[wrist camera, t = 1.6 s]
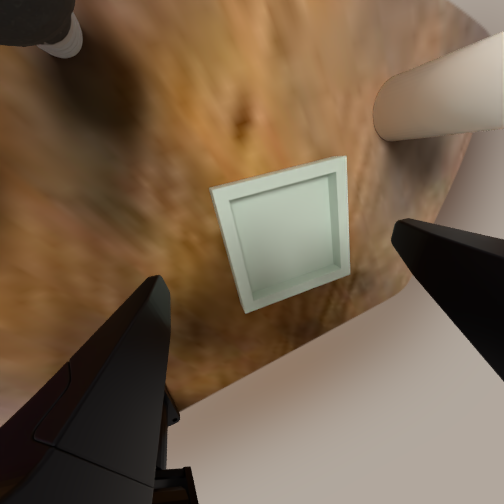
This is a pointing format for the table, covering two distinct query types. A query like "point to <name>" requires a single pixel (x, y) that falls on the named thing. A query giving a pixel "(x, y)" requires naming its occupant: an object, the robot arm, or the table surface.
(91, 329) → the table surface
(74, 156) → the table surface
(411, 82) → the bottle
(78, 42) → the light bulb
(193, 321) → the table surface
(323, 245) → the tray
